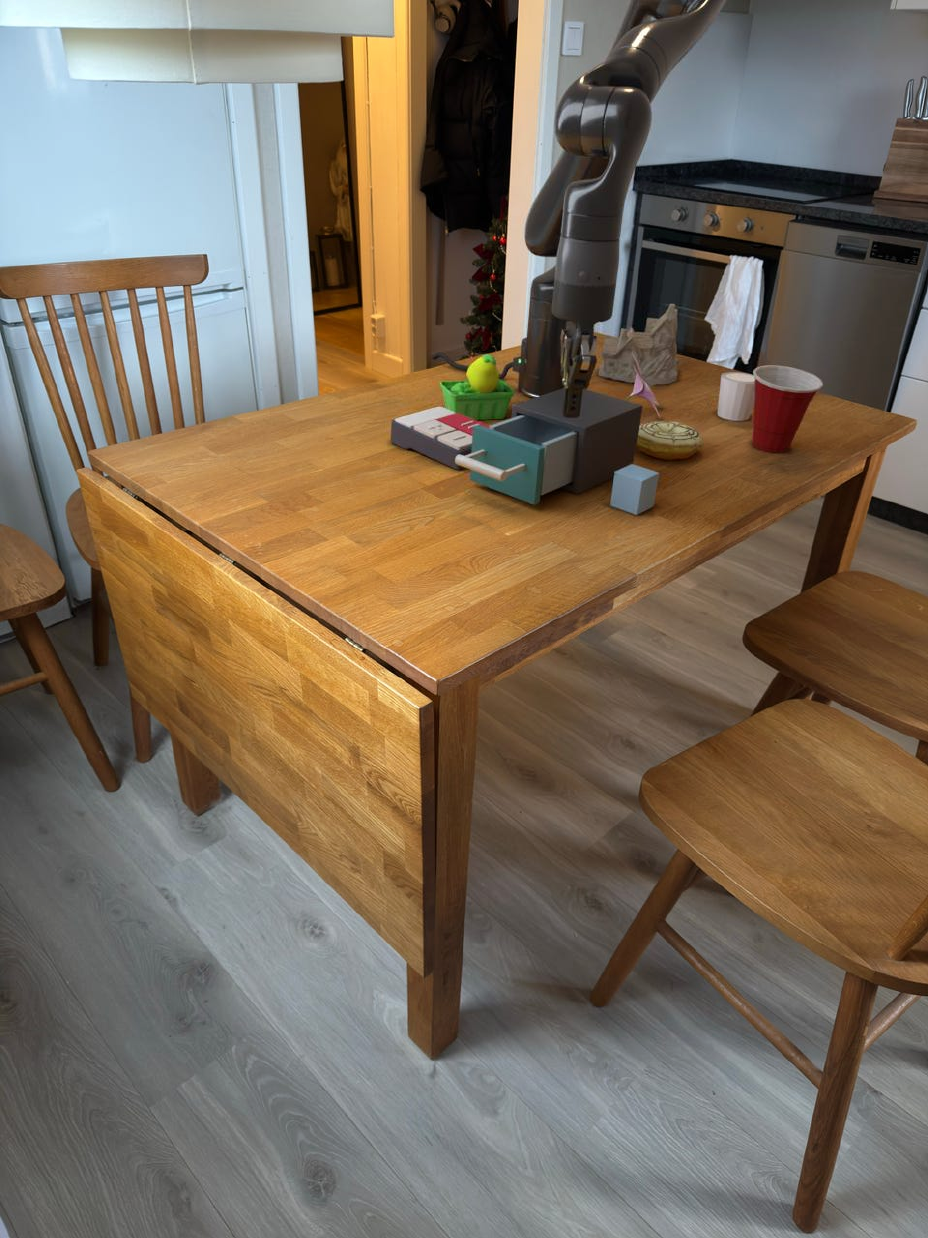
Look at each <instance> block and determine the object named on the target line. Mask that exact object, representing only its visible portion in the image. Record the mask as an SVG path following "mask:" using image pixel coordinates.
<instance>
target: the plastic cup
mask: <svg viewBox="0 0 928 1238" xmlns="http://www.w3.org/2000/svg"><path fill="white" fill-rule="evenodd" d="M752 375H754V378H755V389H754V391H755V398H754V405H753V415H752V445H753V446H754V447H755V448H756V449H758V450H761V451H764V452H768V453H784V452H787V451H788V450H789V448H790V447H791V445H792V443H793V440H794V438H795V435H796V433H797V431H798V430H799V428H800V426H801V423H802V421H803V419H804V418H805V414H806V412H807V411H808V408H809V406H810V403H811V402H812V401H813V398H814V397H815V395H816V394H817V392H819V390H820V389H821V388H822V387H823V385H824V384H823V381H822V379H821V378H819V377H818V376H816V375H815V374H813V373H811V372H808V371H805V370H804V369H799V368H795V367H791V366H785V365H774V364H773V365H772V364H771V365H769V364H768V365H760V366H757V367H756V368H754V369H753V371H752Z"/></svg>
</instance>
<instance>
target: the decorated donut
mask: <svg viewBox="0 0 928 1238" xmlns="http://www.w3.org/2000/svg"><path fill="white" fill-rule="evenodd" d="M703 446H704V439H703V437H702V435H701V433H699V432H698V430H696V429H694V428H693V427H691V426H690V425H687V424H685V423H682V422H678V421H661V420H660V421H659V420H657V421H651V422H646V423H643V424H640V426H639V433H638V439H637V446H636V447H637V448H638V449H639V450H640V452H642V453H644V454H646V455H648V456H650V457H652V458H657V459H662V460H668V461H670V460H684V459H687V458H690V457H692V456H693V455H694V454H695V453H697V452H698V451H699V449H701V448H703Z"/></svg>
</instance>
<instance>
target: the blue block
mask: <svg viewBox="0 0 928 1238" xmlns="http://www.w3.org/2000/svg"><path fill="white" fill-rule="evenodd" d="M659 477H660V472H657V471H655V470H652V469H649V468H645V467H643V466H639V465H638V464H637V465H636V464H635V463H634V464H631V465H629V466H627V467H624V468H622V469H620V470H618V471H616V472H615V474H614V477H613V481H612V488H611V496H610V503H609V506H610V507H613V508H616V509H619V510H622V511H624V512H627V513H630V514H632V515H635V516H638V515H639V514H642V513H644V512H645V511H647V510H649V509H651V508H653V507H654V505H655V499H656V493H657V487H658V481H659Z"/></svg>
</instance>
